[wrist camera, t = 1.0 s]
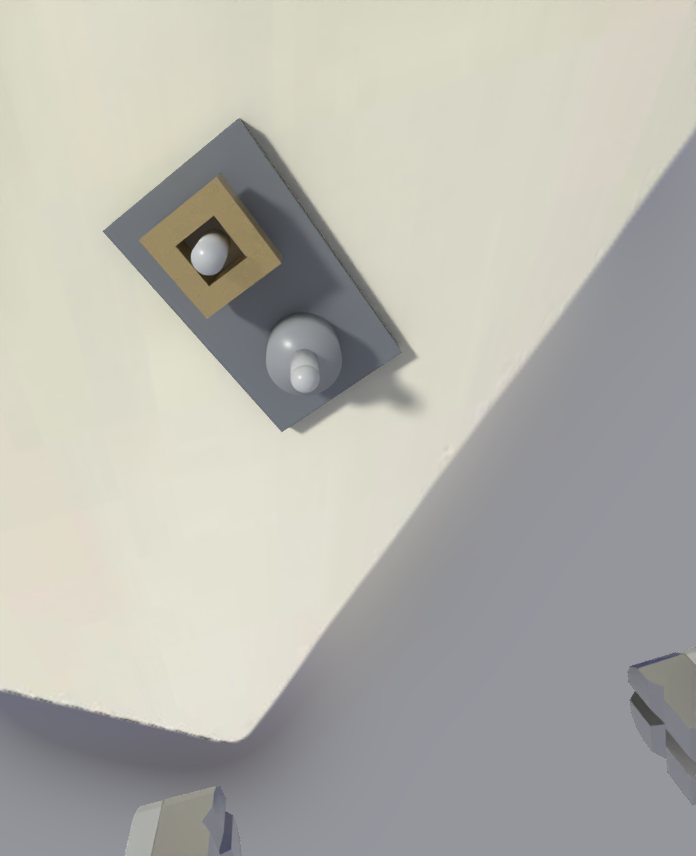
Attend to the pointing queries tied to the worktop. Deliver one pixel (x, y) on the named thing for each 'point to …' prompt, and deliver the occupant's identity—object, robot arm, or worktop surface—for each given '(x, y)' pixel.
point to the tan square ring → (240, 227)
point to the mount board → (264, 286)
